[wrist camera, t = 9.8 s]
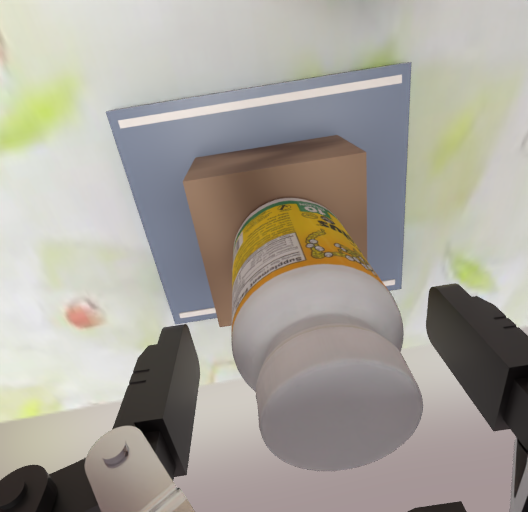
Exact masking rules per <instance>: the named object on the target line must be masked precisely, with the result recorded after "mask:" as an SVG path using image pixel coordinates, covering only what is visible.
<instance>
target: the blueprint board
mask: <svg viewBox="0 0 528 512" xmlns="http://www.w3.org/2000/svg"><path fill="white" fill-rule="evenodd" d="M410 80H411V62H408V63H399V64H393V65H387V66H381V67H375V68H368V69H362V70H356V71H350V72H344V73H338V74H331V75H325V76H319V77H313V78H307V79H301V80H294V81H288V82H282V83H276V84H270V85H264V86H257V87H251V88H245V89H239V90H233V91H227V92H221V93H214V94H208V95H202V96H196V97H190V98H184V99H177V100H171V101H165V102H159V103H153V104H147V105H140V106H134V107H128V108H122V109H116V110H111V111H107V112H106V114H107V117H108V120H109V123H110V126H111V129H112V132H113V136H114V139H115V142H116V145H117V148H118V151H119V154H120V157H121V160H122V163H123V166H124V169H125V172H126V175H127V178H128V181H129V184H130V187H131V190H132V193H133V196H134V200H135V203H136V206H137V209H138V212H139V215H140V218H141V221H142V224H143V227H144V230H145V233H146V236H147V239H148V242H149V245H150V248H151V251H152V254H153V257H154V261H155V264H156V267H157V270H158V273H159V276H160V279H161V282H162V285H163V288H164V291H165V294H166V297H167V300H168V303H169V306H170V309H171V312H172V315H173V318H174V322H175V324H181V323H187V322H193V321H200V320H206V319H212V318H217V314H216V310H215V306H214V303H213V299H212V295H211V291H210V287H209V283H208V279H207V275H206V271H205V267H204V263H203V259H202V256H201V252H200V248H199V244H198V240H197V236H196V232H195V228H194V224H193V220H192V216H191V213H190V209H189V205H188V201H187V197H186V193H185V189H184V185H183V180H184V178H185V176H186V174H187V172H188V170H189V169H190V167H191V165H192V163H193V161H194V159H195V158H196V157H203V156H209V155H215V154H221V153H227V152H234V151H240V150H246V149H252V148H258V147H265V146H271V145H277V144H283V143H290V142H296V141H302V140H308V139H314V138H321V137H327V136H333V135H338V136H340V137H342V138H343V139H345V140H347V141H348V142H350V143H352V144H353V145H355V146H357V147H359V148H360V149H362V150H364V151H365V152H366V165H367V261H368V263H369V264H370V266H371V267H372V269H373V270H374V271H375V273H376V274H377V275H378V277H379V278H380V280H381V281H382V282H383V284H384V285H385V286H386V288H387V289H388V290H389V291H390V290H397V289H401V284H402V262H403V239H404V216H405V194H406V171H407V148H408V126H409V103H410Z"/></svg>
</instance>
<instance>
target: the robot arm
mask: <svg viewBox="0 0 528 512" xmlns="http://www.w3.org/2000/svg"><path fill="white" fill-rule="evenodd" d="M426 329H427V334H428V337H429V340H430V342H431V343H432V345H433V346H434V348H435V349H436V350H437V352H438V353H439V355H440V356H441V358H442V359H443V360H444V362H445V363H446V365H447V366H448V367H449V369H450V370H451V372H452V373H453V375H454V376H455V377H456V379H457V380H458V382H459V383H460V384H461V386H462V387H463V389H464V390H465V392H466V393H467V394H468V396H469V397H470V399H471V400H472V401H473V403H474V404H475V406H476V407H477V409H478V410H479V411H480V413H481V414H482V416H483V417H484V418H485V420H486V421H487V422H488V424H489V425H490V427H491V428H492V430H493V431H498V430H505V429H511V430H512V432H513V433H514V434H515V436H516V439H515V442H514V454H513V468H512V483H511V498H510V509H509V512H528V336H527V335H526V334H525V333H524V332H523V331H522V330H521V329H520V328H519V327H518V328H517V327H516V325H515V324H514V323H513V322H512V321H511V320H510V319H509V318H506V315H504V314H503V313H502V312H501V311H500V310H499V309H498V308H497V307H496V306H495V305H493V304H491V303H489V302H487V301H485V300H483V299H481V298H479V297H477V296H475V297H471V296H470V295H469V294H468V293H467V292H466V291H465V290H464V289H463V288H462V287H461V286H460V285H458V284H449V285H442V286H436V287H431V289H430V291H429V298H428V309H427V320H426ZM199 379H200V367H199V360H198V357H197V353H196V350H195V347H194V344H193V340H192V337H191V334H190V331H189V328H188V326H187V325H186V324H184V325H177V326H171V327H164V328H163V329H162V331H161V334H160V337H159V341H158V344H156V345H150V346H148V347H147V348H146V349H145V351H144V352H143V353H142V354H141V355H140V356H139V358H138V360H137V362H136V365H135V368H134V371H133V374H132V376H131V379H130V382H129V386H128V387H127V390H126V393H125V396H124V398H123V401H122V404H121V407H120V410H119V413H118V416H117V418H116V421H115V424H114V426H113V429H112V430H111V431H109V432H107V433H106V434H104V435H103V436H102V437H100V438H99V439H98V440H97V441H96V442H95V444H94V445H93V446H92V447H91V449H90V450H89V452H88V454H87V457H86V458H84V459H82V460H80V461H78V462H76V463H74V464H72V465H70V466H67V467H65V468H63V469H60V470H58V471H56V472H54V473H52V474H48V473H47V472H46V470H45V469H44V468H43V467H41V466H39V465H28V466H25V467H22V468H19V469H17V470H15V471H13V472H11V473H10V474H8V475H7V476H5V477H4V478H3V479H2V480H0V512H195V511H194V509H193V507H192V506H191V504H190V503H189V501H188V500H187V498H186V497H185V495H184V494H183V492H182V491H181V489H180V488H177V487H176V485H175V484H174V482H173V479H174V477H177V476H184V475H187V468H188V461H189V453H190V446H191V438H192V431H193V423H194V416H195V409H196V401H197V394H198V386H199ZM408 512H466V510H465V508H464V506H463V504H462V502H461V501H460V502H453V503H447V504H439V505H432V506H426V507H419V508H414V509H412V510H410V511H408Z"/></svg>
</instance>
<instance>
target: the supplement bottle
mask: <svg viewBox="0 0 528 512" xmlns="http://www.w3.org/2000/svg"><path fill="white" fill-rule="evenodd" d="M402 343H403V323H402V318H401V314H400V311H399V309H398V307H397V304H396V302H395V300H394V298H393V296H392V295H391V293H390V292H389V290H388V289H387V288H386V286H385V285H384V284H383V282H382V281H381V280H380V278H379V277H378V275H377V274H376V273H375V271H374V270H373V269H372V267H371V266H370V264H369V263H368V261H367V260H366V259H365V257H364V256H363V254H362V253H361V251H360V250H359V249H358V247H357V245H356V244H355V243H354V241H353V240H352V238H351V237H350V236H349V234H348V233H347V231H346V230H345V229H344V227H343V225H342V224H341V223H340V222H339V220H338V219H337V218H336V216H335V215H334V214H333V213H332V212H331V211H329V210H328V209H327V208H325V207H324V206H322V205H320V204H318V203H315V202H312V201H308V200H305V199H299V198H281V199H277V200H273V201H271V202H268V203H266V204H264V205H262V206H261V207H259V208H258V209H256V210H255V211H254V212H252V213H251V214H250V215H249V216H248V217H247V218H246V220H245V221H244V222H243V224H242V225H241V227H240V229H239V231H238V233H237V235H236V238H235V242H234V247H233V265H232V351H233V356H234V360H235V363H236V366H237V368H238V370H239V372H240V374H241V376H242V377H243V379H244V380H245V381H246V383H247V384H248V385H249V386H250V387H251V388H252V389H253V390H254V391H255V392H256V399H257V404H258V416H259V428H260V431H261V435H262V438H263V440H264V442H265V444H266V446H267V447H268V448H269V449H270V451H271V452H272V453H273V454H274V455H275V456H277V457H278V458H279V459H281V460H282V461H284V462H286V463H288V464H290V465H293V466H295V467H299V468H302V469H307V470H315V471H339V470H347V469H352V468H356V467H360V466H364V465H367V464H370V463H372V462H375V461H378V460H379V459H381V458H383V457H385V456H387V455H389V454H390V453H392V452H393V451H395V450H396V449H397V448H398V447H400V446H401V445H402V444H404V442H405V441H406V440H408V439H409V438H410V437H411V435H412V434H413V433H414V431H415V430H416V428H417V426H418V424H419V422H420V419H421V416H422V411H423V401H422V395H421V392H420V390H419V387H418V385H417V383H416V381H415V379H414V378H413V375H412V373H411V371H410V370H409V368H408V366H407V364H406V361H405V360H404V358H403V356H402V354H401V353H400V352H401V348H402Z"/></svg>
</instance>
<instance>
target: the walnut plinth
mask: <svg viewBox="0 0 528 512" xmlns="http://www.w3.org/2000/svg"><path fill="white" fill-rule="evenodd" d="M183 185H184V189H185V193H186V197H187V201H188V205H189V209H190V213H191V216H192V220H193V224H194V228H195V232H196V236H197V240H198V244H199V248H200V252H201V256H202V259H203V263H204V267H205V271H206V275H207V279H208V283H209V287H210V291H211V295H212V299H213V303H214V306H215V310H216V314H217V318H218V322H219V326H220V327H224V326H230V325H232V265H233V247H234V242H235V238H236V235H237V233H238V231H239V229H240V227H241V225H242V224H243V222H244V221H245V220H246V218H247V217H248V216H249V215H250V214H251V213H252V212H254V211H255V210H256V209H258V208H259V207H261V206H262V205H264V204H266V203H268V202H271V201H273V200H277V199H281V198H299V199H305V200H308V201H312V202H315V203H318V204H320V205H322V206H324V207H325V208H327V209H328V210H329V211H331V212H332V213H333V214H334V215H335V216H336V218H337V219H338V220H339V222H340V223H341V224H342V225H343V227H344V229H345V230H346V231H347V233H348V234H349V236H350V237H351V238H352V240H353V241H354V243H355V244H356V245H357V247H358V249H359V250H360V251H361V253H362V254H363V256H364V257H365V259H366V260H367V165H366V152H365V151H364V150H362V149H360V148H359V147H357V146H355V145H353V144H352V143H350V142H348V141H347V140H345V139H343V138H342V137H340V136H338V135H333V136H327V137H321V138H314V139H308V140H302V141H296V142H290V143H283V144H277V145H271V146H265V147H258V148H252V149H246V150H240V151H234V152H227V153H221V154H215V155H209V156H203V157H196V158H195V159H194V161H193V163H192V165H191V167H190V169H189V170H188V172H187V174H186V176H185V178H184V180H183Z"/></svg>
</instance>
